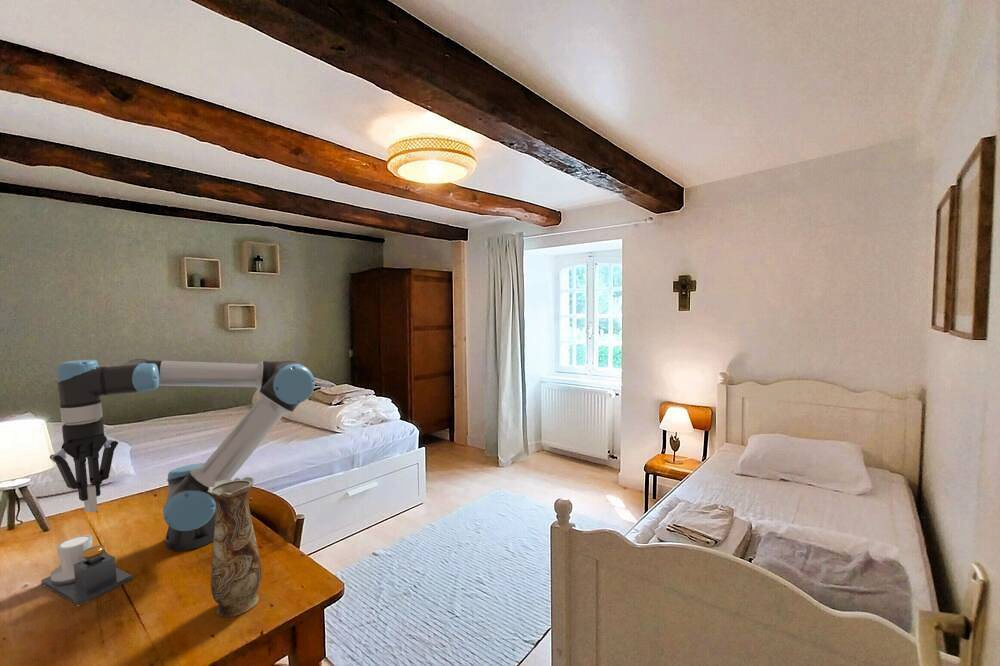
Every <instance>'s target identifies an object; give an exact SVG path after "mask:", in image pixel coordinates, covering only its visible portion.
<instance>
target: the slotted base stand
mask: <svg viewBox="0 0 1000 666" xmlns="http://www.w3.org/2000/svg"><path fill="white" fill-rule="evenodd" d="M101 556H102V560H101V561H99V562H97V563H95V564H92V565H90V566H88V565H87V559H85V560H82V561H80V562H78V563H75V564H74V575H75V582H73V583H69V584H64V585H54V584H52V583H51V576H47V577H44V578H42V579H41V583H40V584H41V585H42V584H43V585H42V586H44V585H45V586H46V587H45V586H44V587H45V588H47V587H48V588H47V589H49V590H50V589H51V590H50V591H52V590H53V592H54V593H55V592H56V594H57V593H58V594H57V595H59V594H60V595H61V597H62V596H63V597H62V598H64V599H65V598H66V599H65V600H67V599H68V600H67V601H69V600H70V601H71V603H72V602H73V603H72V604H74V605H75V604H76V606H77V605H80V606H81V604H82V605H83V603H84V604H86V603H87V601H88V602H90V601H91V600H90V599H92V600H94V599H95V598H94V597H96V598H98V597H100V596H102V595H103V594H106V593H108V592H110V591H112V590H114V589H116V588H118V587H121V586H122V585H124V584H126V583H128V582H130V581H132V580H133V575H132V574H130V573H128V572H126V571H124V570H122V569H120V568H118V567H116V557H115V556H114V555H111V554H109V553H106V552H105V551H104V552H103V553H102V554H101ZM101 594H102V595H101ZM60 595H59V596H60ZM99 595H100V596H99ZM97 596H98V597H97ZM93 598H94V599H93ZM89 600H90V601H89ZM70 601H69V602H70ZM85 602H86V603H85Z"/></svg>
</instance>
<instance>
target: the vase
mask: <svg viewBox="0 0 1000 666" xmlns="http://www.w3.org/2000/svg"><path fill="white" fill-rule="evenodd" d="M254 482H255V479H254V477H250V476H246V477H244V478H241V477H235V479H233V480H232V479H231V480H230V479H225V480H221V481H219V482H216V483H215V484H214V487H209V489H208V491H207V492H208V493H209V494H210V495H211V496H212V497H213V498H214V499H215V502H216V519H215V532H214V541H213V545H212V554H211V557H212V558H211V566H210V567H211V568H210V588H211V589H210V590H211V595H212V598H213V600H214V602H215V603H217V604H218V607H217V609H216V614H217V616H219V617H221V618H232V617H236V616H239V615H242V614H245V613H246V612H248V611H249V610H251V609H253V608H255V606H256V605H257V603H258V602H259V600H260V595H259V594H258V593H257V592H258V590H259V588H260V586H261V581H262V562H261V556H260V551H259V547H258V543H257V539H256V534H255V533H256V532H255V530H254V526H253V521H252V515H251V510H250V506H249V492H250V491H251V490H252V487H253V484H254Z"/></svg>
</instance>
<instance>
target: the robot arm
mask: <svg viewBox="0 0 1000 666" xmlns="http://www.w3.org/2000/svg"><path fill="white" fill-rule="evenodd" d="M56 369H57V370H56V371H57V372H56V373H57V376H56V377H57V379H56V383H57V390H58V398H59V409H60V419H61V423H62V426H61V430H62V438H63V444H62V445H61V449H60V450H59V451H57V452H56V453H54V454H51V455H50V456H49V459H50V460H51V461H52V462H54V463H55V464H56V467H57V468H58V470H59V473H60V474H61V476H62V479H63V481H64V483H65V485H66V487H67V488H69V489H72V490H77V492H78V499H79V500H80V501H81V502H83V505H84V511H85V512H88V513H90V514H91V513H93V512H96V511H98V500H97V498H98V497H99V496H101V485H102V483H103V481H104V480H108V479H109V477H110V472H111V468H112V462H113V457H114V454H115V453H114V452H115V450H116V449H117V446H118V445H119V441H117V440H113V439H108V438H107V436H106V435H105V427H104V420H103V419H102V418H103V416H104V415H103V414H104V413H103V407H102V397H103V396H112V395H123V394H132V393H145V392H151V391H156V390H157V389H159V387H163V386H164V387H168V386H169V387H170V386H171V387H223V388H224V387H229V388H234V387H235V388H236V387H237V388H240V387H241V388H256V389H257V390H258V395H259V399H257V401H256V402H255V404H253V406H252V407H251V408H249V410H248V412H247V413H246V414H245V415H244V417H243V418H242V419H241V420H240V421H239V422H238V423H237V425H236V426H235V427H233V429H232V431H231V432H230V433H229V434H228V435H227V436H226V438H224V439H223V441H221V444H219V445H218V447H217V448H216V449H215V450H214V451H213V452H212V454H211V455H210V456H209V458H208V459H207V460H206V461H205V462H201V463H200V462H199V463H193V464H188V465H184V466H180V467H176V468H174V469H171V470H169V472H168V473H167V479H166V481H167V482H168V483H167V485H168V492H167V496H166V500H165V505H164V506H163V508H162V509H163V510H162V512H163V519H164V522H165V523H166V525H168V529H167V532H166V535H165V539H164V543H165V545H164V546H165V548H166V549H167V550H169V551H172V552H183V551H189V550H194V549H197V548H200V547H203V546H206V545H208V544H211V543H212V542H214V532H215V519H216V502H215V499H214V498H213V497H212V496H211V495H210V494H209V493H208V492H207V491H208V489H209V487H214V484H215V483H216V482H219V481H221V480H225V479H230V480H232V479H233V477H234V476H235V475H236V474H237V472H239V470H240V469H241V468H242V466H243V465H244V464H245V462H246V461H247V460H248V459H249V458H250V457H251V456H252V454H253V453H254V451H256V449H257V448H258V447H259V446H260V444H262V442H263V441H264V440H265V439H266V437H267V436H268V435H269V434H270V432H271V431H272V430H273V429H274V427H275V426H277V424H278V422H279V421H280V420H281V419H282V417H283V416H285V415H287V414H291V413H293V412H294V411H295V409H296V408H297V407H298V405H300V404H301V403H303V402H305V401H306V400H307V399H309V398H310V397H311V395H312V394H313V393H314V389H315V384H316V383H315V377H314V375H313V373H312V371H311V370H310V369H309V368H308V367H307V366H305V365H303V364H301V363H299V362H297V361H294V360H278V361H276V360H275V361H274V360H273V361H272V360H271V361H266V360H265V361H263V360H260V361H259V362H258V363H239V362H238V363H235V362H210V361H209V362H208V361H207V362H206V361H185V360H183V361H181V360H180V361H179V360H154V359H146V358H134V359H130V360H128V361H127V362H125V363H124V364H122V365H113V366H100V365H99V363H98V361H97V360H96V359H80V360H79V359H78V360H77V359H76V360H70V361H64V362H60V363H59V364H58V365H57V367H56ZM102 448H103V452H102V456H101V460H100V461H101V462H100V464H99V458H100V453H99V452H100V451H101V450H102ZM67 455H69V456H70V457H72V460H73V462H74V470H75V471H74V472H75V476H74V474H73V472H72V469H71V467H70V465H69V463H68V461H67V460H66V458H67ZM87 464H88V465H87ZM87 466H88V467H87ZM87 468H88V475H89V478H88V475H87ZM88 479H89V483H90V484H88Z"/></svg>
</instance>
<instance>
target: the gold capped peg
mask: <svg viewBox="0 0 1000 666" xmlns="http://www.w3.org/2000/svg"><path fill="white" fill-rule="evenodd" d="M103 552H105V547H104V545H103V544H102V545H101V544H100V545H95V546H92V547H91V548H88V549H86V550H85V551H83V558H84V559H87V565H88V566H90V565H92V564H95V563H97V562H99V561H101V560H102V556H101V554H102V553H103Z"/></svg>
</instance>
